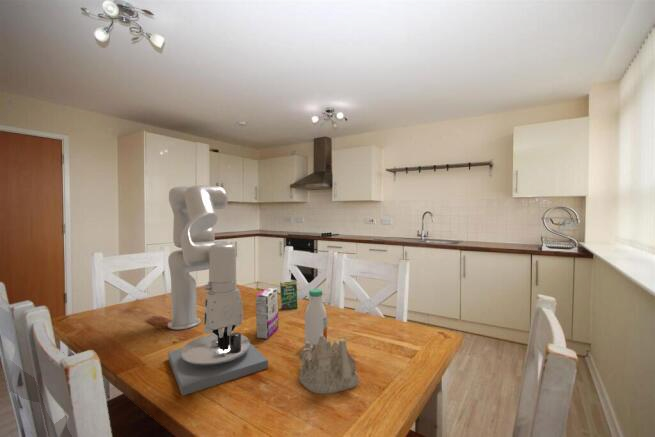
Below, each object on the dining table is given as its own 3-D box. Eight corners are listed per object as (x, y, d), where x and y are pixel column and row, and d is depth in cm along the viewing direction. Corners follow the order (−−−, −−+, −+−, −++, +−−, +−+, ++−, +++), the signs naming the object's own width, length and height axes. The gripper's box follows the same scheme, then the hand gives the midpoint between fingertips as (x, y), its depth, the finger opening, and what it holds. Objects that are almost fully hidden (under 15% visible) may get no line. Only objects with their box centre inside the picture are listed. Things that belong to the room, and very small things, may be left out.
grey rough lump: (364, 387, 82) (360, 331, 83) (304, 399, 78) (300, 340, 79) (346, 363, 97) (344, 316, 98) (295, 372, 93) (293, 323, 94)
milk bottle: (319, 353, 102) (318, 294, 102) (300, 348, 106) (300, 291, 106) (331, 344, 109) (330, 289, 108) (313, 340, 113) (312, 286, 112)
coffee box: (280, 309, 147) (280, 283, 147) (280, 308, 150) (280, 281, 150) (297, 308, 149) (297, 282, 149) (296, 306, 152) (296, 280, 152)
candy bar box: (267, 327, 126) (266, 287, 125) (278, 328, 125) (278, 288, 124) (255, 338, 115) (255, 295, 114) (268, 339, 114) (267, 295, 113)
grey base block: (168, 359, 99) (168, 348, 99) (241, 340, 113) (241, 331, 112) (182, 395, 79) (181, 382, 79) (268, 368, 93) (267, 356, 93)
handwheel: (166, 358, 91) (166, 335, 91) (218, 334, 109) (218, 315, 109) (214, 375, 82) (213, 349, 82) (262, 345, 100) (262, 324, 100)
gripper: (200, 293, 81) (201, 361, 81) (252, 284, 91) (253, 345, 91) (192, 288, 87) (193, 351, 87) (241, 280, 96) (242, 337, 97)
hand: (223, 348), depth 89 cm, fingers closed
